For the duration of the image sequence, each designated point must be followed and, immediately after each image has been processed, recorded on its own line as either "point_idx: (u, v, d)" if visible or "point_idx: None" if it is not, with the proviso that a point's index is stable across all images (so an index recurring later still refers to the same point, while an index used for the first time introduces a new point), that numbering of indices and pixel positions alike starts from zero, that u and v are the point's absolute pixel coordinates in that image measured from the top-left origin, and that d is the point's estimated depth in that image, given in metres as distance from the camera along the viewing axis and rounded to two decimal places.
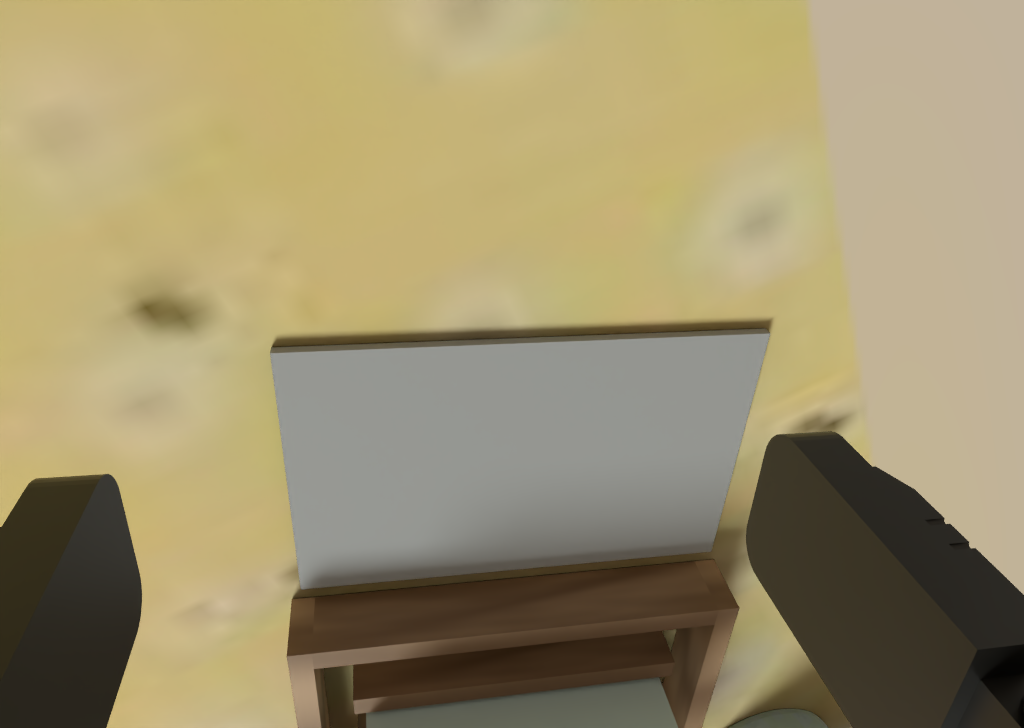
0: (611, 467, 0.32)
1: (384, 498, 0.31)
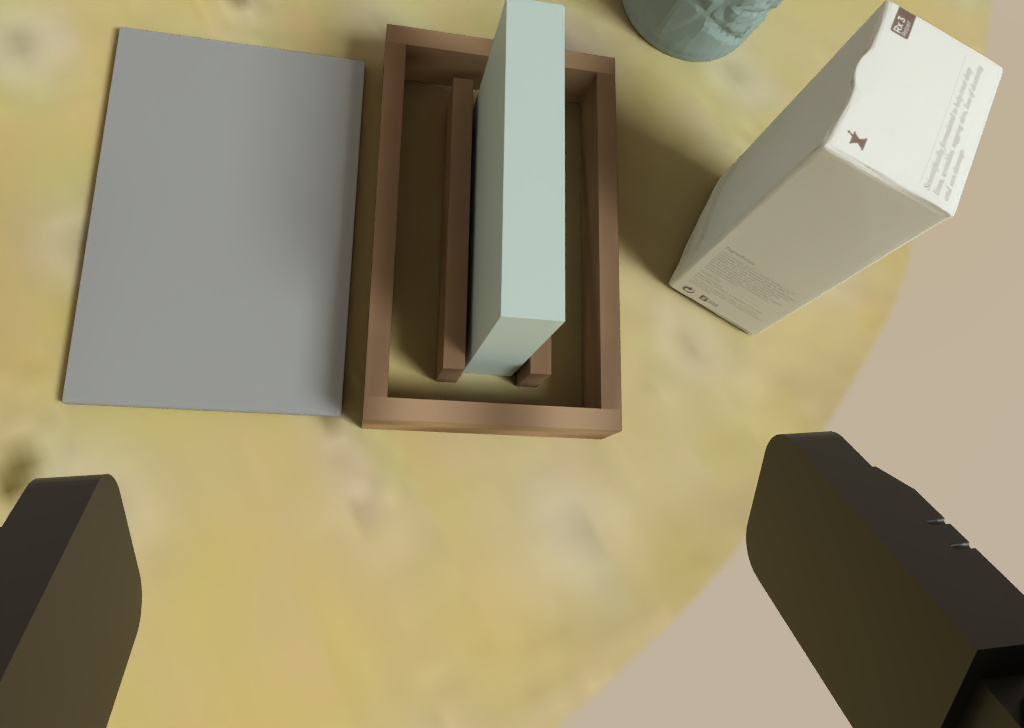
0: (241, 145, 0.38)
1: (240, 331, 0.36)
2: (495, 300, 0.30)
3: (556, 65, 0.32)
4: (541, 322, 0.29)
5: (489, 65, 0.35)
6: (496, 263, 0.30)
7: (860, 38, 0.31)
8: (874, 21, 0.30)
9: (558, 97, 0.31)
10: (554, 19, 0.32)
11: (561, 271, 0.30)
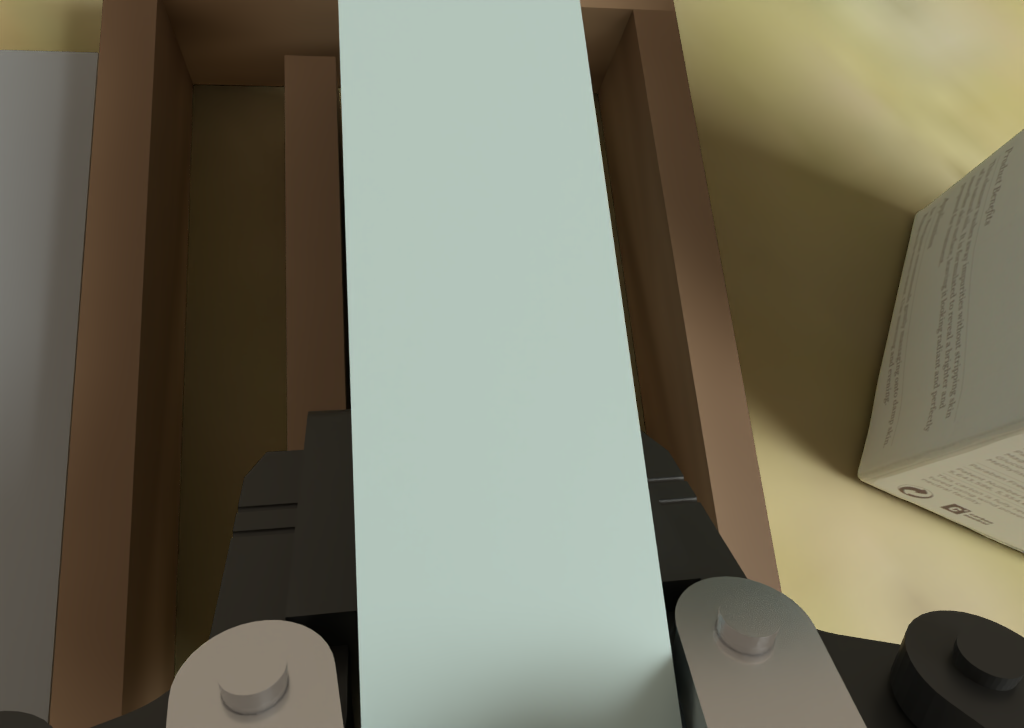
0: None
1: None
2: None
3: None
4: None
5: None
6: None
7: None
8: None
9: (557, 12, 0.08)
10: None
11: None
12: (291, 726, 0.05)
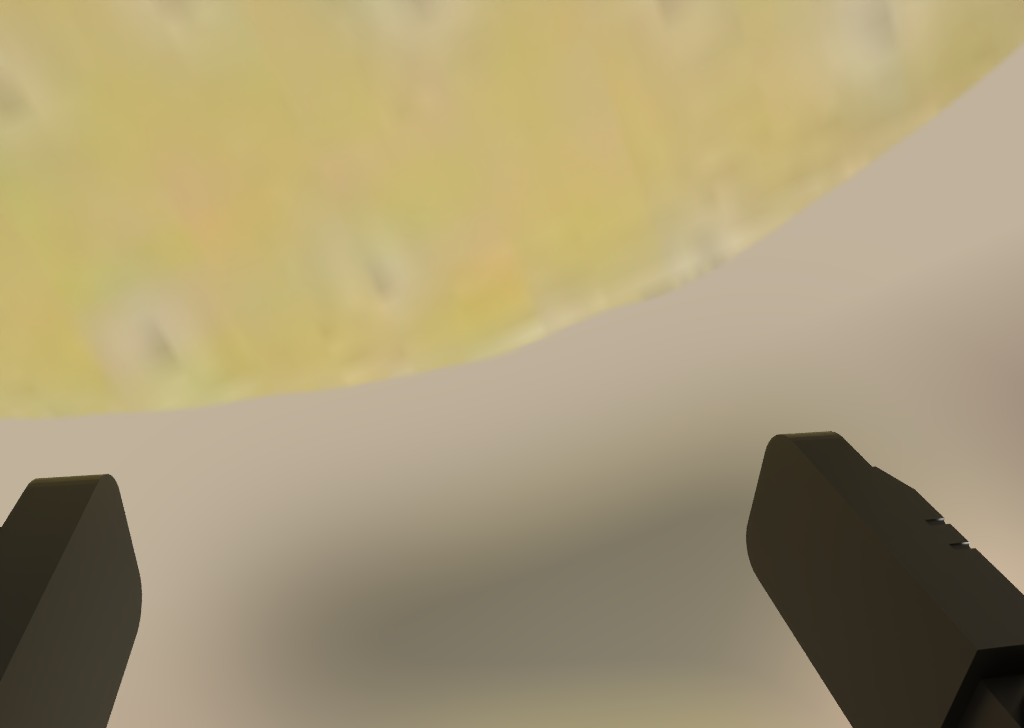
0: None
1: None
2: None
3: None
4: None
5: None
6: None
7: None
8: None
9: None
10: None
11: None
12: None
